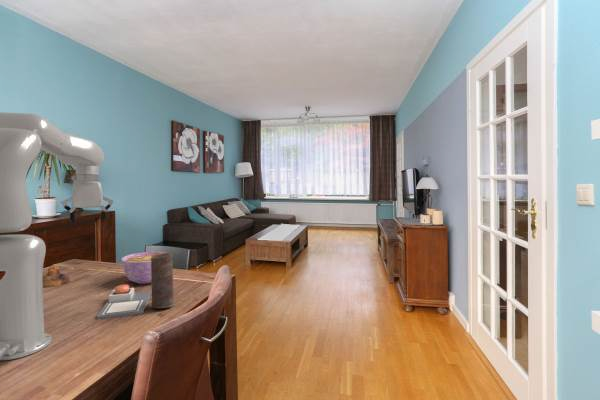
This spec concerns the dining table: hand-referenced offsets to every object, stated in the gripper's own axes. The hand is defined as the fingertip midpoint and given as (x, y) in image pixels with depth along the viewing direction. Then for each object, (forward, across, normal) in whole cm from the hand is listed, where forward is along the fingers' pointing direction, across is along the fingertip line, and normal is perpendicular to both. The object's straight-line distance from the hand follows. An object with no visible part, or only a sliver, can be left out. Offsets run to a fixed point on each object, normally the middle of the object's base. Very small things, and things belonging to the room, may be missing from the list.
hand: (88, 221), depth 123 cm
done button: (+27, +11, -14) cm, 32 cm away
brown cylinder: (+30, +23, -29) cm, 48 cm away
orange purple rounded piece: (+30, -15, +24) cm, 41 cm away
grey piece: (+30, +12, -20) cm, 38 cm away
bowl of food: (+30, +21, +6) cm, 37 cm away
